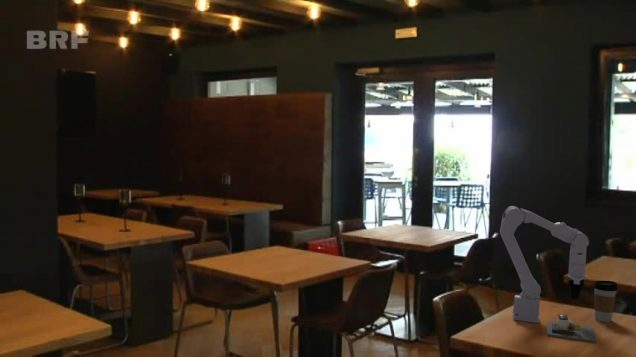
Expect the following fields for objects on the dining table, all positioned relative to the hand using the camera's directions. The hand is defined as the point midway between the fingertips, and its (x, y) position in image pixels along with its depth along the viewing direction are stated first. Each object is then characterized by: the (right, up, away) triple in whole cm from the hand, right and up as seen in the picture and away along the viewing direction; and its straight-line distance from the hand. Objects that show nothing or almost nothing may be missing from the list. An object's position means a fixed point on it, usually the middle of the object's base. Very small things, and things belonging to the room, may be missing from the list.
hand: (574, 299), depth 232 cm
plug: (-10, -10, -12) cm, 18 cm away
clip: (-6, -8, -10) cm, 14 cm away
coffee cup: (+14, -10, +7) cm, 18 cm away
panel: (-6, -10, -11) cm, 16 cm away
